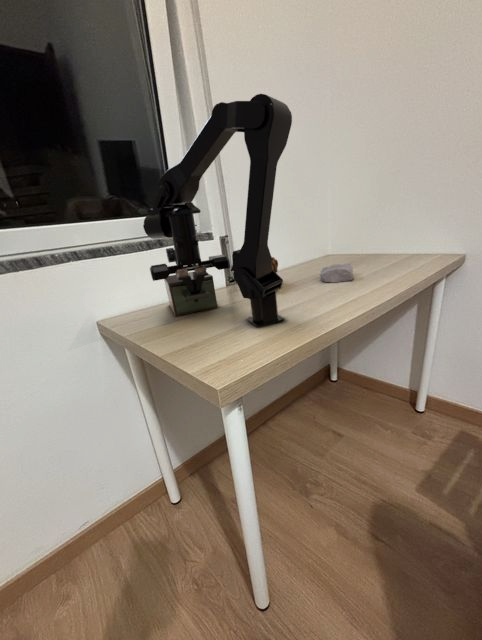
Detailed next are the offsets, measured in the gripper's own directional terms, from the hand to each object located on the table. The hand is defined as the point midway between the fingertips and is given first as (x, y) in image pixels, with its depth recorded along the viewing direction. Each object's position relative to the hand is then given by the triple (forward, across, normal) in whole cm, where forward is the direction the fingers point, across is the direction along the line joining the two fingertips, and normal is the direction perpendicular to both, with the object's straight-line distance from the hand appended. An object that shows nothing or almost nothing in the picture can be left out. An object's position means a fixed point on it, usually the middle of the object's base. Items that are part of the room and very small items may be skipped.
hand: (196, 301), depth 78 cm
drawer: (+3, 0, -6) cm, 6 cm away
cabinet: (+4, 0, -10) cm, 11 cm away
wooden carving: (+4, -27, -14) cm, 31 cm away
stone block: (+4, -47, -9) cm, 48 cm away
